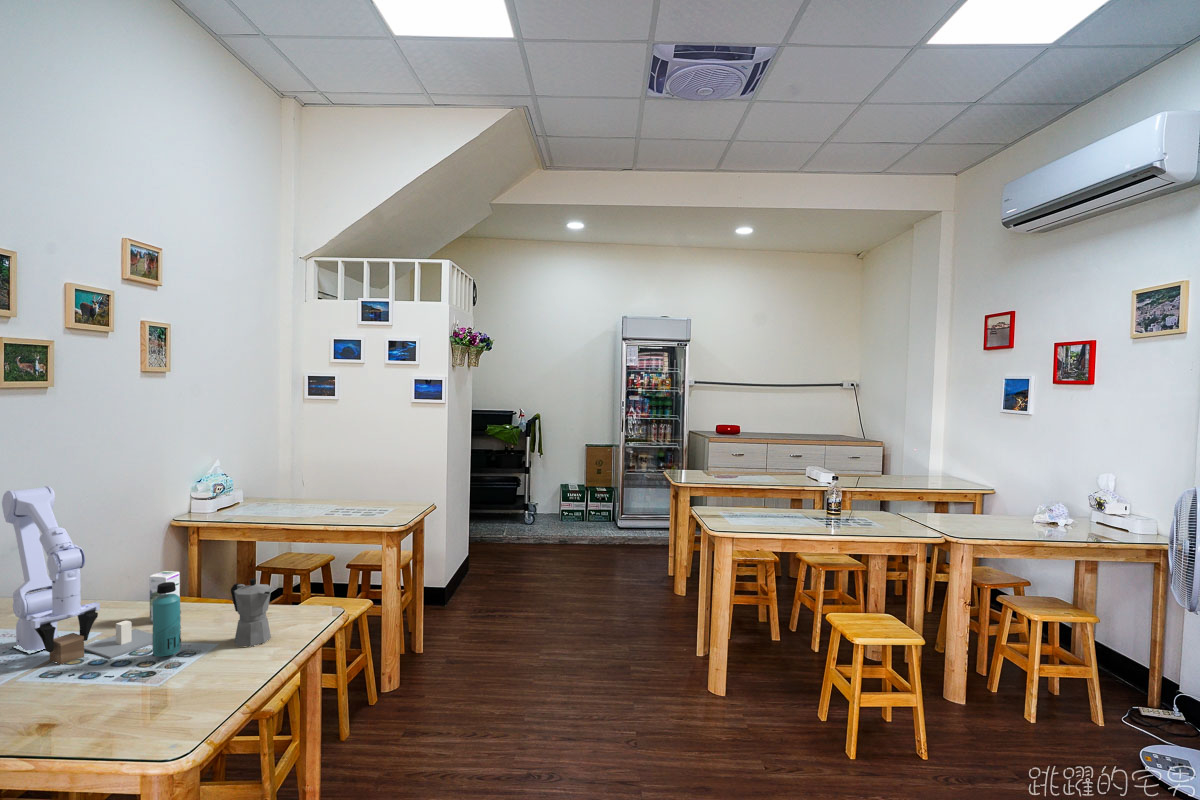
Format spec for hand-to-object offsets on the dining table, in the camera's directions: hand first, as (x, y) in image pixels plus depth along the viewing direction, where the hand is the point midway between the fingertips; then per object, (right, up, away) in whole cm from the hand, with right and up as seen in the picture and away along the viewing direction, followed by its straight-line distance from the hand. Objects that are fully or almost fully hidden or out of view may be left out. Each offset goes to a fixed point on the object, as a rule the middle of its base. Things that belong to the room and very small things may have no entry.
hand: (67, 645), depth 164 cm
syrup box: (+6, -3, +28) cm, 29 cm away
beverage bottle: (+25, -4, +2) cm, 25 cm away
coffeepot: (+41, -4, +14) cm, 43 cm away
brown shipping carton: (0, -4, 0) cm, 4 cm away
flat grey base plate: (+7, -4, +10) cm, 13 cm away
